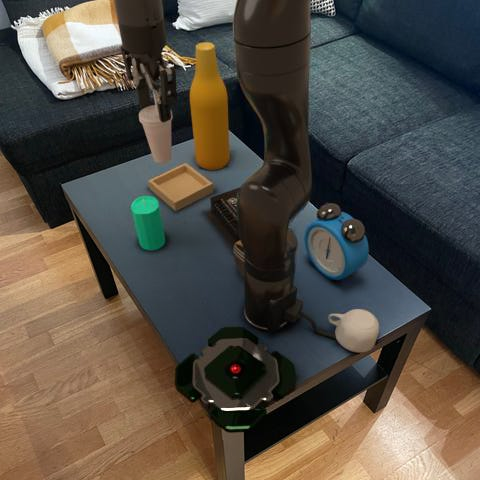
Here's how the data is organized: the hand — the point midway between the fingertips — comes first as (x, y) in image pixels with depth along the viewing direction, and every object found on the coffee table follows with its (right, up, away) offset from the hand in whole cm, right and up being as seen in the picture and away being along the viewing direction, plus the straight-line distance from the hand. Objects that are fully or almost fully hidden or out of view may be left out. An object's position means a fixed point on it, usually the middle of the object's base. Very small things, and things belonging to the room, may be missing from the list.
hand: (155, 112), depth 90 cm
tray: (+1, -7, +30) cm, 31 cm away
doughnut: (+18, -30, +12) cm, 37 cm away
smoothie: (0, -6, +8) cm, 10 cm away
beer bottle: (+9, +4, +38) cm, 39 cm away
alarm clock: (+36, -28, +13) cm, 48 cm away
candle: (-4, -21, +19) cm, 29 cm away
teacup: (+38, -39, -3) cm, 54 cm away
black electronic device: (+18, -18, +21) cm, 33 cm away
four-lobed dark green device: (+15, -51, -4) cm, 53 cm away
